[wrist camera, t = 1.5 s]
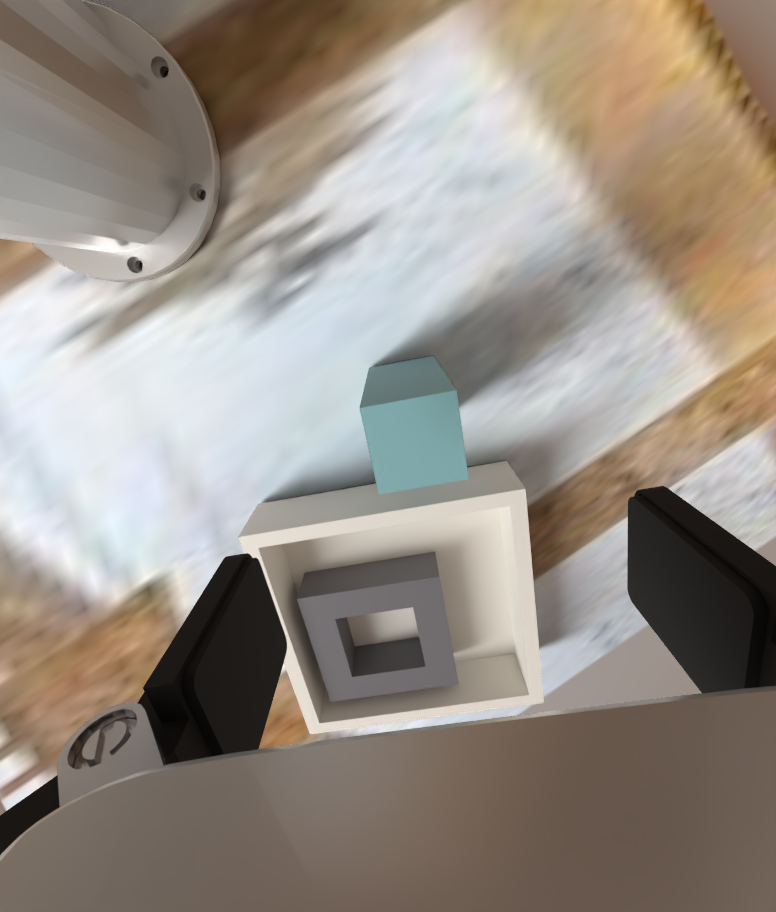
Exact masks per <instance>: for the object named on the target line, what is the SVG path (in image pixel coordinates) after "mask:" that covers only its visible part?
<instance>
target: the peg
mask: <svg viewBox="0 0 776 912" xmlns="http://www.w3.org/2000/svg"><path fill="white" fill-rule="evenodd" d="M360 412H361V417H362V421H363V426H364V430H365V435H366V439H367V444H368V448H369V453H370V458H371V462H372V467H373V471H374V476H375V480H376V485H377V489H378V494H385V493H391V492H396V491H402V490H408V489H414V488H420V487H426V486H431V485H437V484H443V483H449V482H455V481H460V480H466V479H469V477H468V470H467V463H466V455H465V448H464V441H463V433H462V426H461V418H460V411H459V404H458V396H457V390H456V388H455V387H454V385H453V384H452V382H451V381H450V379H449V378H448V376H447V375H446V373H445V372H444V370H443V369H442V367H441V366H440V364H439V363H438V361H437V360H436V358H435V357H434V355H433V356H428V357H423V358H418V359H412V360H407V361H402V362H397V363H392V364H386V365H381V366H376V367H371V368H369V371H368V375H367V379H366V383H365V388H364V392H363V396H362V400H361V404H360Z"/></svg>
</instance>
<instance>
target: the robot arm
mask: <svg viewBox="0 0 776 912" xmlns="http://www.w3.org/2000/svg"><path fill="white" fill-rule="evenodd" d="M167 70H169V72H168V75H167V76H166V77H165V78H164V73H165V71H167ZM219 190H220V158H219V153H218V148H217V143H216V138H215V133H214V130H213V127H212V124H211V121H210V119H209V116H208V113H207V110H206V108H205V105H204V103H203V102H202V100H201V98H200V96H199V94H198V92H197V90H196V89H195V87H194V85H193V83H192V81H191V80H190V78H189V77H188V76H187V74H186V73H185V72H184V71H183V69H182V68H181V67H180V65H179V64H178V63H177V61H176V60H175V59H174V57H173V56H172V55H171V54H170V53H169V52H168V51H167V50H166V49H165V48H164V47H163V46H162V45H161V44H160V43H159V42H158V41H157V40H156V39H155V38H154V37H153V36H152V35H150V34H149V33H148V32H147V31H145V30H144V29H143V28H142V27H140V26H139V25H138V24H137V23H135V22H134V21H133V20H131V19H129V18H127V17H126V16H124V15H122V14H120V13H118V12H116V11H115V10H113V9H111V8H109V7H107V6H103V5H100V4H97V3H93V2H90V1H87V0H0V239H8V240H16V241H24V242H31V243H32V244H33V245H34V246H35V247H37V248H38V249H39V250H41V251H42V252H43V253H45V254H46V255H47V256H48V257H50V258H51V259H52V260H54V261H56V262H58V263H59V264H61V265H63V266H65V267H67V268H69V269H70V270H72V271H74V272H77V273H80V274H83V275H86V276H89V277H92V278H95V279H101V280H107V281H114V282H137V281H143V280H150V279H154V278H157V277H159V276H162V275H164V274H167V273H169V272H171V271H173V270H174V269H176V268H177V267H179V266H180V265H181V264H183V263H184V262H186V261H187V260H188V259H189V258H190V257H191V256H192V254H193V253H194V252H195V251H196V250H197V249H198V248H199V247H200V245H201V244H202V242H203V240H204V238H205V237H206V235H207V233H208V231H209V230H210V228H211V224H212V221H213V218H214V215H215V212H216V209H217V205H218V198H219ZM202 191H205V192H206V197H205V199H204V200H202V199H201V198H200V194H201V192H202ZM140 262H142V264H143V269H141V268H140V265H139V264H140ZM628 593H629V596H630V599H631V601H632V602H633V604H634V605H635V607H636V608H637V609H638V610H639V612H640V613H641V614H642V616H643V617H644V618H645V620H646V621H647V622H648V623H649V625H650V626H651V627H652V629H653V630H654V631H655V633H656V634H657V635H658V636H659V638H660V639H661V640H662V642H663V643H664V644H665V646H666V647H667V648H668V649H669V651H670V652H671V653H672V655H673V656H674V657H675V659H676V660H677V661H678V662H679V664H680V665H681V666H682V668H683V669H684V670H685V672H686V673H687V674H688V675H689V677H690V678H691V679H692V681H693V682H694V683H695V684H696V686H697V687H698V688H699V690H700V691H701V692H702V694H692V695H682V696H673V697H665V698H657V699H649V700H640V701H632V702H624V703H615V704H607V705H599V706H591V707H583V708H574V709H565V710H557V711H549V712H541V713H533V714H525V715H517V716H509V717H501V718H493V719H485V720H477V721H469V722H461V723H454V724H446V725H438V726H430V727H422V728H414V729H407V730H399V731H391V732H384V733H376V734H369V735H361V736H354V737H346V738H339V739H331V740H324V741H316V742H308V743H301V744H293V745H286V746H279V747H272V748H265V749H258V748H259V745H260V742H261V738H262V735H263V731H264V728H265V724H266V721H267V718H268V714H269V711H270V707H271V704H272V700H273V697H274V694H275V690H276V687H277V683H278V680H279V676H280V673H281V670H282V666H283V663H284V659H285V656H286V652H287V640H286V636H285V633H284V630H283V627H282V625H281V622H280V619H279V616H278V613H277V610H276V607H275V604H274V602H273V599H272V596H271V593H270V590H269V587H268V584H267V581H266V579H265V576H264V573H263V570H262V567H261V564H260V562H259V560H258V558H252V556H251V555H250V554H248V553H246V554H240V555H233V556H228V557H225V558H224V559H223V561H222V563H221V564H220V566H219V567H218V569H217V571H216V572H215V574H214V575H213V577H212V579H211V580H210V582H209V583H208V585H207V587H206V588H205V590H204V591H203V593H202V595H201V596H200V598H199V599H198V601H197V603H196V604H195V606H194V607H193V609H192V611H191V612H190V614H189V615H188V617H187V618H186V620H185V622H184V623H183V625H182V626H181V628H180V630H179V631H178V633H177V634H176V636H175V638H174V639H173V641H172V642H171V644H170V646H169V647H168V649H167V650H166V652H165V654H164V655H163V657H162V658H161V660H160V662H159V663H158V665H157V666H156V668H155V670H154V671H153V673H152V674H151V676H150V678H149V679H148V681H147V682H146V684H145V686H144V687H143V689H144V691H145V692H144V694H143V695H142V697H141V698H140V700H139V702H138V703H135V702H127V703H121V704H118V705H115V706H111V707H109V708H108V709H106V710H104V711H102V712H100V713H98V714H97V715H95V716H94V717H92V718H91V719H90V720H88V721H87V722H85V723H84V724H83V725H82V726H81V727H80V728H79V729H78V730H77V731H76V732H75V733H74V734H73V735H72V736H71V738H70V739H69V740H68V741H67V743H66V744H65V745H64V747H63V749H62V751H61V753H60V755H59V758H58V764H57V776H56V777H54V778H53V779H51V780H50V781H49V782H47V783H46V784H44V785H43V786H42V787H40V788H39V789H37V790H36V791H34V792H33V793H32V794H30V795H29V796H27V797H26V798H24V799H23V800H22V801H20V802H19V803H17V804H16V805H15V806H13V807H12V808H10V809H9V810H7V811H6V812H5V813H3V814H2V815H1V816H0V912H776V566H775V565H773V564H772V563H771V562H769V561H768V560H766V559H765V558H764V557H762V556H761V555H760V554H758V553H757V552H755V551H754V550H753V549H751V548H750V547H748V546H747V545H746V544H744V543H743V542H741V541H740V540H739V539H737V538H736V537H734V536H733V535H732V534H730V533H729V532H728V531H726V530H725V529H723V528H722V527H721V526H719V525H718V524H716V523H715V522H714V521H712V520H711V519H709V518H708V517H707V516H705V515H704V514H703V513H701V512H700V511H698V510H697V509H696V508H694V507H693V506H691V505H690V504H689V503H687V502H686V501H684V500H683V499H682V498H680V497H679V496H678V495H676V494H675V493H673V492H672V491H671V490H669V489H668V488H666V487H664V486H660V487H654V488H648V489H641V490H638V491H636V493H635V496H634V497H631V498H629V501H628Z"/></svg>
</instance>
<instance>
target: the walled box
mask: <svg viewBox="0 0 776 912" xmlns="http://www.w3.org/2000/svg"><path fill="white" fill-rule="evenodd" d="M467 470H468V477H469V479H466V480H460V481H455V482H449V483H443V484H437V485H431V486H426V487H420V488H414V489H408V490H402V491H396V492H391V493H385V494H378V489H377V485H376V484H370V485H364V486H359V487H353V488H347V489H341V490H336V491H330V492H324V493H318V494H313V495H307V496H301V497H295V498H289V499H284V500H278V501H272V502H266V503H261V504H258V505H257V507H256V508H255V510H254V512H253V513H252V515H251V517H250V518H249V520H248V522H247V523H246V525H245V527H244V528H243V530H242V532H241V533H240V535H239V537H238V538H239V541H240V544H241V546H242V549H243V552H244V554H246V553H248V554H250V555H251V556H252V558H258V560H259V562H260V564H261V567H262V570H263V573H264V576H265V579H266V581H267V584H268V587H269V590H270V593H271V596H272V599H273V602H274V604H275V607H276V610H277V613H278V616H279V619H280V622H281V625H282V627H283V630H284V633H285V636H286V640H287V652H286V656H285V659H284V664H285V667H286V670H287V672H288V675H289V678H290V680H291V683H292V686H293V689H294V691H295V694H296V697H297V700H298V702H299V705H300V708H301V711H302V713H303V716H304V719H305V722H306V724H307V727H308V730H309V733H310V734H315V733H323V732H330V731H338V730H345V729H353V728H360V727H368V726H375V725H382V724H390V723H397V722H405V721H412V720H420V719H427V718H434V717H442V716H449V715H457V714H464V713H472V712H479V711H486V710H494V709H501V708H509V707H516V706H524V705H531V704H538V703H544V700H543V688H542V677H541V665H540V653H539V641H538V629H537V617H536V606H535V594H534V582H533V570H532V558H531V546H530V534H529V523H528V511H527V499H526V489H525V487H524V486H523V484H522V483H521V481H520V480H519V478H518V477H517V475H516V474H515V472H514V471H513V469H512V468H511V466H510V465H509V464H508V462H507V461H503V462H497V463H491V464H485V465H480V466H474V467H468V468H467Z"/></svg>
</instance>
